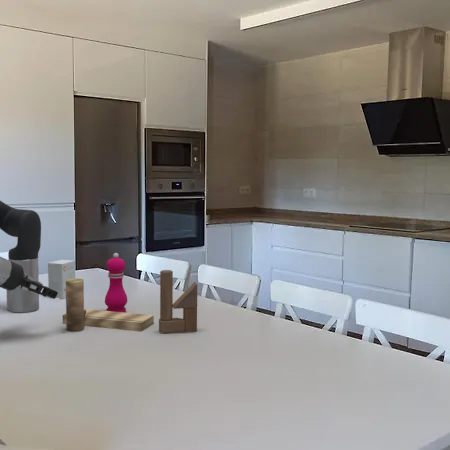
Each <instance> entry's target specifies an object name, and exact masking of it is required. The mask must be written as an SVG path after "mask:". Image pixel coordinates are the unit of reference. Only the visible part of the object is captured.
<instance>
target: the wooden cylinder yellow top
mask: <svg viewBox="0 0 450 450" xmlns="http://www.w3.org/2000/svg"><path fill="white" fill-rule="evenodd" d="M84 284H85V283H84V279H82V278H75V279H68V280H66V298H65V314H66V324H65V325H66V327H65V328H66V331H67V332H71V333H75V332H82V331H84V330H85V325H84V316H85V314H86V310H84V309H85V303H84V302H85V299H84V298H85V293H84V292H85V291H84V289H85V288H84V287H85V286H84Z"/></svg>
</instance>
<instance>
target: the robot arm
mask: <svg viewBox="0 0 450 450" xmlns="http://www.w3.org/2000/svg"><path fill="white" fill-rule="evenodd" d="M41 221H42V220H41V217H40V216H39V214H38V212H36V211H35V210H32V209H21V208H15V207H13V206H11V205H8V204H7V203H5V202H3V201H2V200H0V230H1V231H3V233H5V234H6V235H8V236H11V237H13V238H17V240H16V241H17V243H16V245H15V246H14V247H13V248H10V249H9V251H8V259H7V258H4V257H2V256H0V288H1V289H4V290H6V310H7V311H10V312H11V313H30V312H35V311H37V310H39V309H40V296H42V297H44V298H47V297H48V298H49V297H50V298H49V299H55V298H56V296H57V294H58V292H57V291H55V290H52V289H50V288H49V287H48V285H47V286H46V285H43V283H42V282H41V281H39V280H40V278H39V252H40V250H41V244H42V243H41V239H42V222H41ZM55 300H56V299H55Z"/></svg>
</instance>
